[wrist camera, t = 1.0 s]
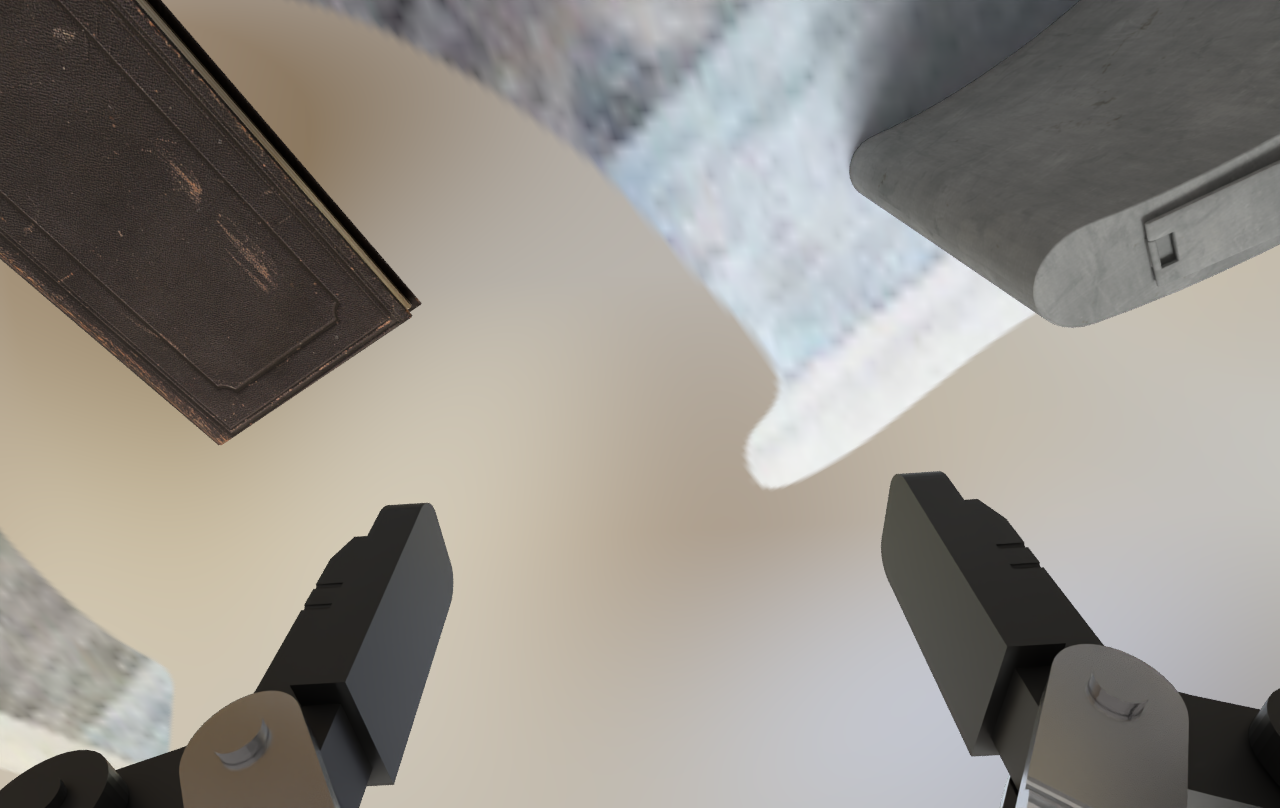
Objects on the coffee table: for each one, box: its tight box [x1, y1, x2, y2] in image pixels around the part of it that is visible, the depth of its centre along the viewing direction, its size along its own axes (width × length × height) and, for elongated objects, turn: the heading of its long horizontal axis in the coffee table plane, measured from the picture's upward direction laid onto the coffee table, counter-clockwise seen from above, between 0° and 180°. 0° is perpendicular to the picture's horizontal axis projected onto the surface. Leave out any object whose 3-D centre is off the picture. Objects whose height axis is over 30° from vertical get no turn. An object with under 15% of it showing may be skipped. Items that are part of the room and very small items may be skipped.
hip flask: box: [849, 0, 1280, 328], centre depth 23 cm, size 16×4×20 cm, turn 126°
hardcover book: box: [0, 0, 422, 445], centre depth 33 cm, size 16×23×2 cm
